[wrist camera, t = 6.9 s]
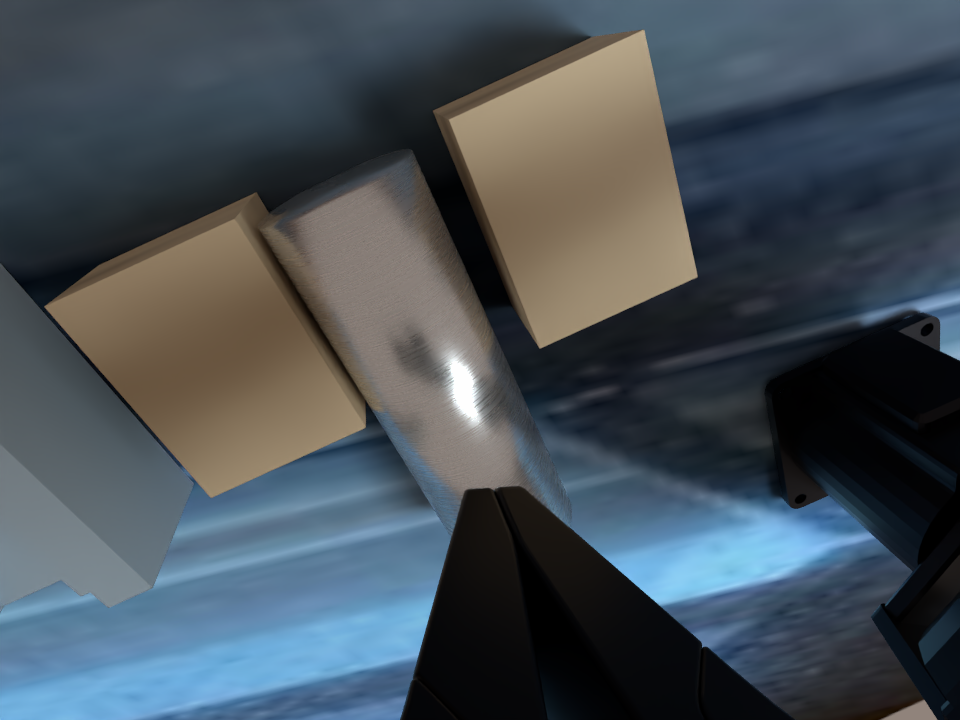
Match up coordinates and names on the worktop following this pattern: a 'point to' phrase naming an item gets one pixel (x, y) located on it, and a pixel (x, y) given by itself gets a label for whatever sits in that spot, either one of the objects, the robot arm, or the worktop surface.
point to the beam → (503, 221)
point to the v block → (74, 470)
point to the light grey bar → (412, 331)
